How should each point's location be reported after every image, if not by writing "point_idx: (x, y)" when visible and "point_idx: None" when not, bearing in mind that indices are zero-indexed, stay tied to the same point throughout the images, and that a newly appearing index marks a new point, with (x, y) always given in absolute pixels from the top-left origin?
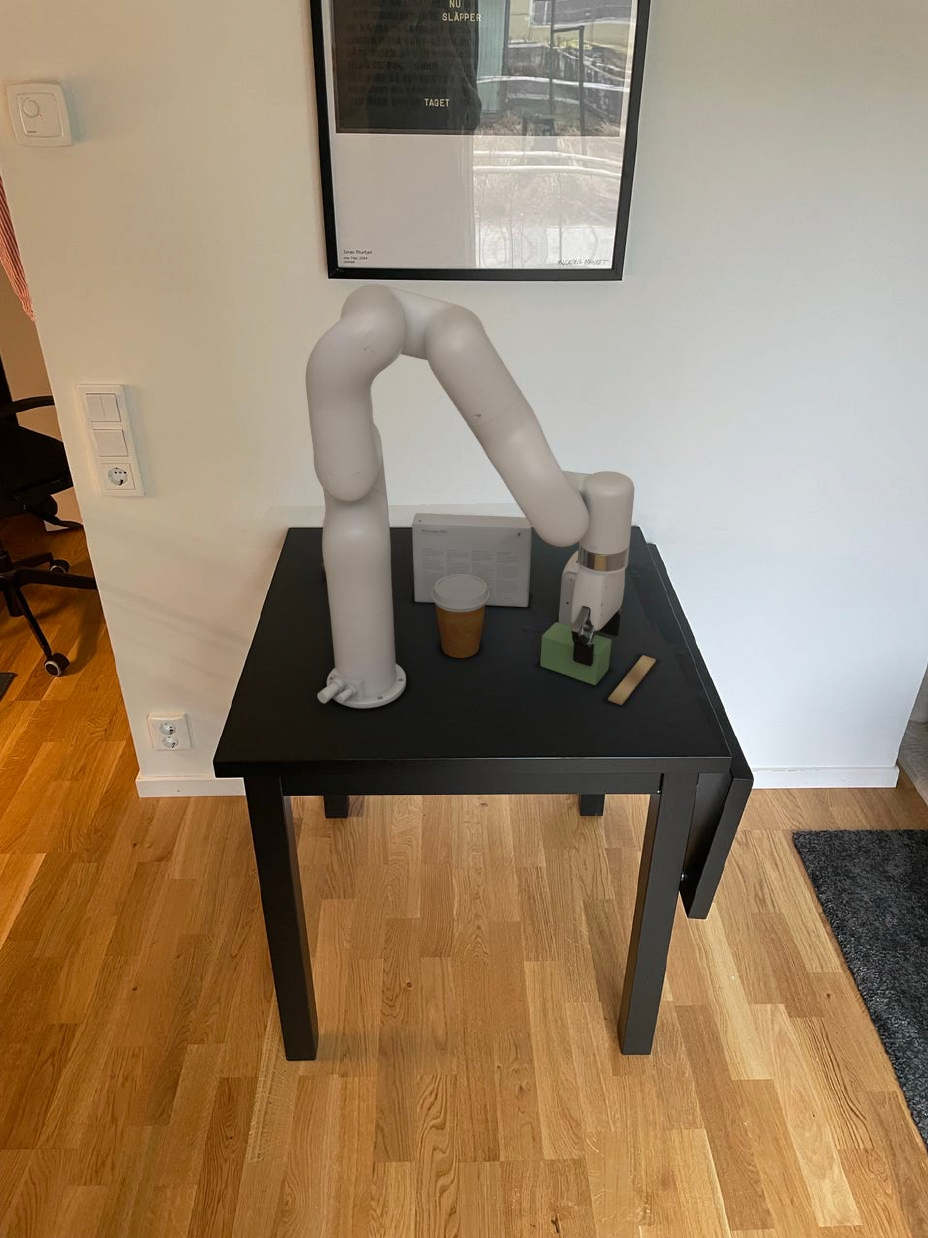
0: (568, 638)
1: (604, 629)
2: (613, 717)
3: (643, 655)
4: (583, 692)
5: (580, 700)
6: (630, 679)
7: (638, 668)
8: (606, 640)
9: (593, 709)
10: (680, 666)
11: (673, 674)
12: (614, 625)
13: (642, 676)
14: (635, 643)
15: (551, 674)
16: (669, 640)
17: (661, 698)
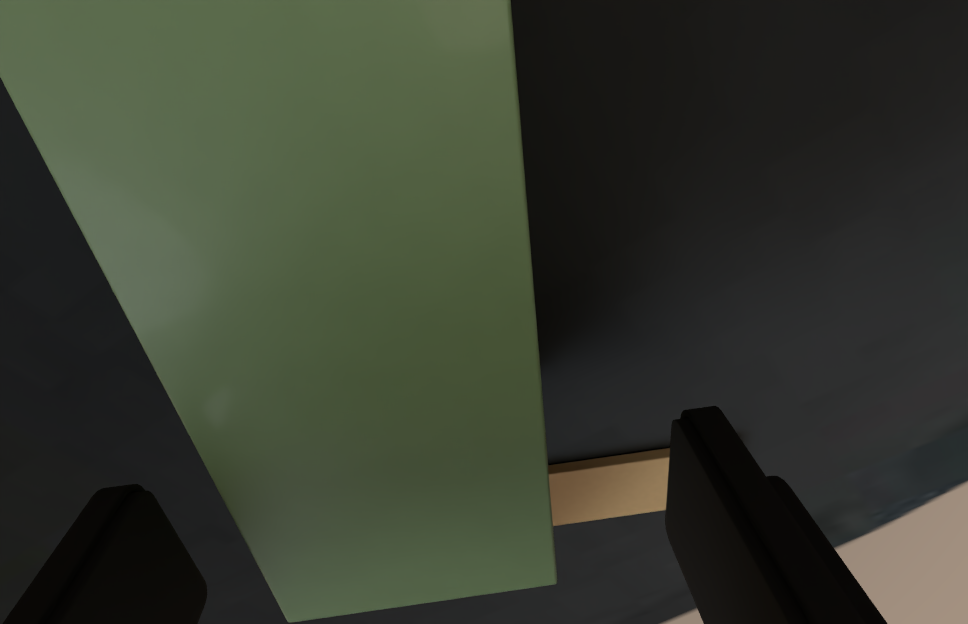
0: (268, 342)
1: (684, 479)
2: (205, 567)
3: None
4: None
5: (162, 423)
6: None
7: (609, 486)
8: (520, 569)
9: (167, 495)
10: None
11: (662, 568)
12: (709, 619)
13: (556, 525)
14: (853, 353)
15: None
16: (942, 450)
17: (473, 607)
